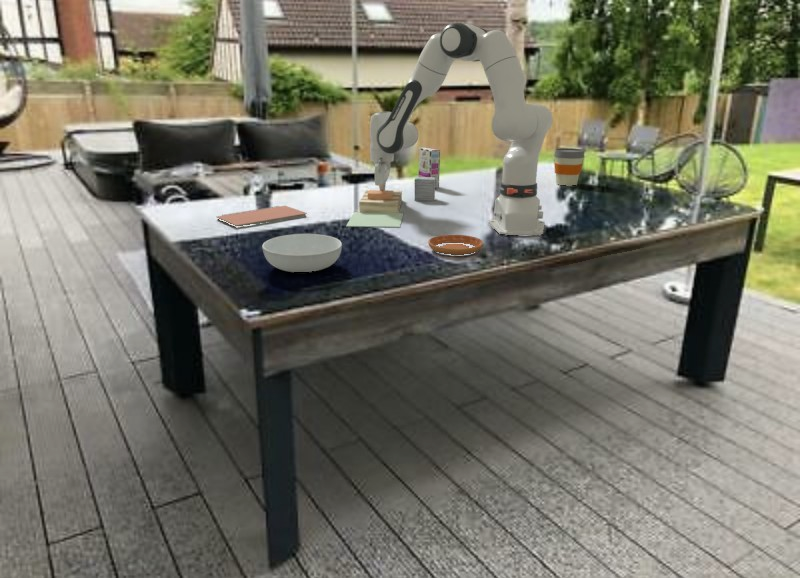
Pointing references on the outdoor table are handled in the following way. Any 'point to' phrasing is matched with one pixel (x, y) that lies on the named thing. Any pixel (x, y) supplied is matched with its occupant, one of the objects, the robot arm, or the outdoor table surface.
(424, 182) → the medicine box
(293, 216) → the notebook
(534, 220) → the robot arm
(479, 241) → the saucer
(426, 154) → the candy bar box
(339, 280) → the outdoor table surface
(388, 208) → the plate
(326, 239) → the serving bowl
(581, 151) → the reusable coffee cup
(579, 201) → the outdoor table surface
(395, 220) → the mat
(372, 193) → the orange rectangular block
